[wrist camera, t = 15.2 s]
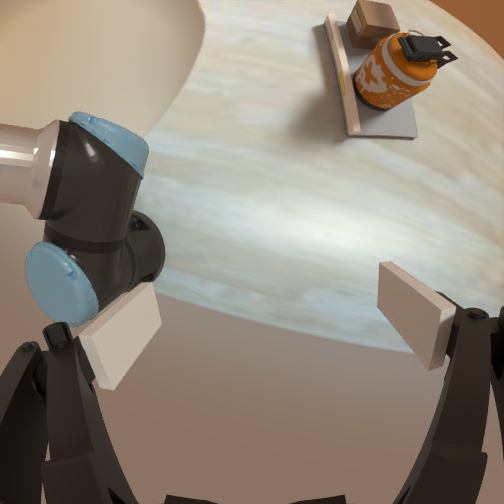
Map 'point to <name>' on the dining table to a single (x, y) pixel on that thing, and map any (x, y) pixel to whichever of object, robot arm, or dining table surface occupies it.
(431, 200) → the dining table surface
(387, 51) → the canister
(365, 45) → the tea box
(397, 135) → the shelf board
